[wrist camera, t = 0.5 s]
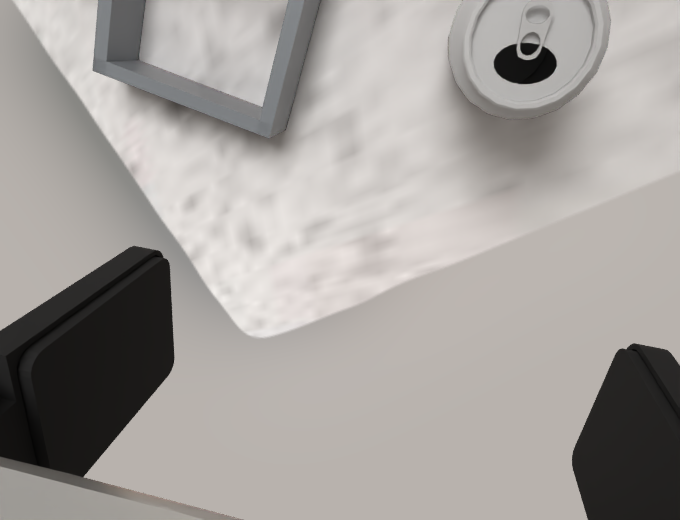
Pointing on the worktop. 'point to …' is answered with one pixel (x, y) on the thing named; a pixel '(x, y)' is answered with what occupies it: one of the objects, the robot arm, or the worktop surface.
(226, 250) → the worktop surface
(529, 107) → the can
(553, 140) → the worktop surface
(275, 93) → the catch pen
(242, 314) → the worktop surface
